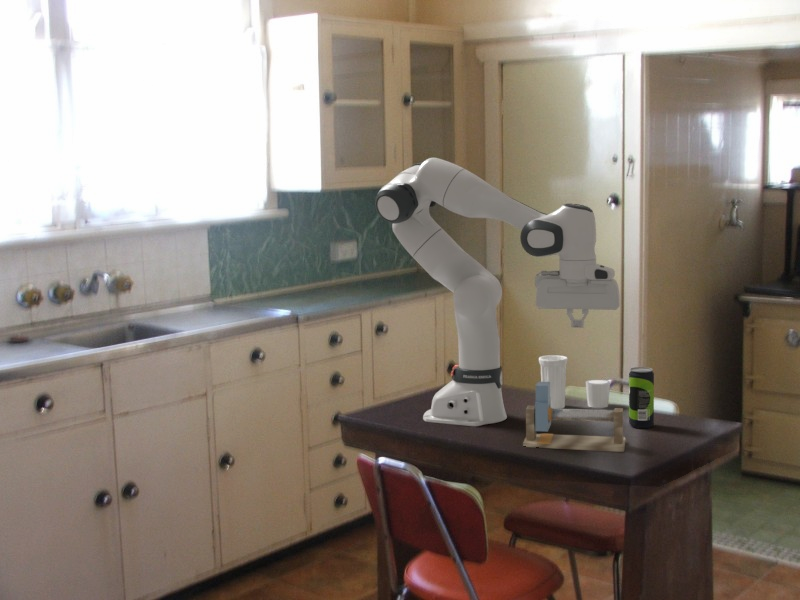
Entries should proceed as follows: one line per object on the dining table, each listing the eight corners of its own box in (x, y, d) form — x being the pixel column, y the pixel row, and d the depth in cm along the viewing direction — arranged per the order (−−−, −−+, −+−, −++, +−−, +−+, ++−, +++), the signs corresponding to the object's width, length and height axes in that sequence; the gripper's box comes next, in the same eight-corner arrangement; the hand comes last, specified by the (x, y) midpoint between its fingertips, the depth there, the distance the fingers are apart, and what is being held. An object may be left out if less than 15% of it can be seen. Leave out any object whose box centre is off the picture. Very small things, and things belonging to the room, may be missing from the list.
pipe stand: (522, 447, 258) (522, 411, 257) (527, 438, 267) (527, 402, 266) (623, 451, 252) (623, 414, 251) (625, 441, 261) (625, 405, 260)
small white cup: (582, 403, 302) (582, 379, 302) (606, 402, 303) (606, 378, 302) (589, 409, 296) (589, 384, 295) (613, 408, 296) (613, 383, 295)
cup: (544, 403, 304) (543, 354, 302) (571, 405, 300) (571, 356, 298) (535, 410, 297) (534, 359, 295) (563, 412, 293) (562, 361, 291)
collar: (535, 431, 258) (534, 386, 257) (538, 424, 265) (538, 380, 263) (547, 431, 257) (547, 386, 256) (550, 424, 264) (550, 380, 263)
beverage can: (658, 425, 276) (658, 368, 274) (645, 430, 271) (645, 372, 270) (637, 422, 280) (637, 365, 278) (624, 426, 276) (624, 369, 274)
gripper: (533, 272, 258) (533, 328, 260) (619, 272, 253) (618, 330, 255) (536, 269, 264) (536, 324, 266) (620, 269, 259) (620, 326, 261)
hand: (577, 327), depth 260 cm, fingers closed
